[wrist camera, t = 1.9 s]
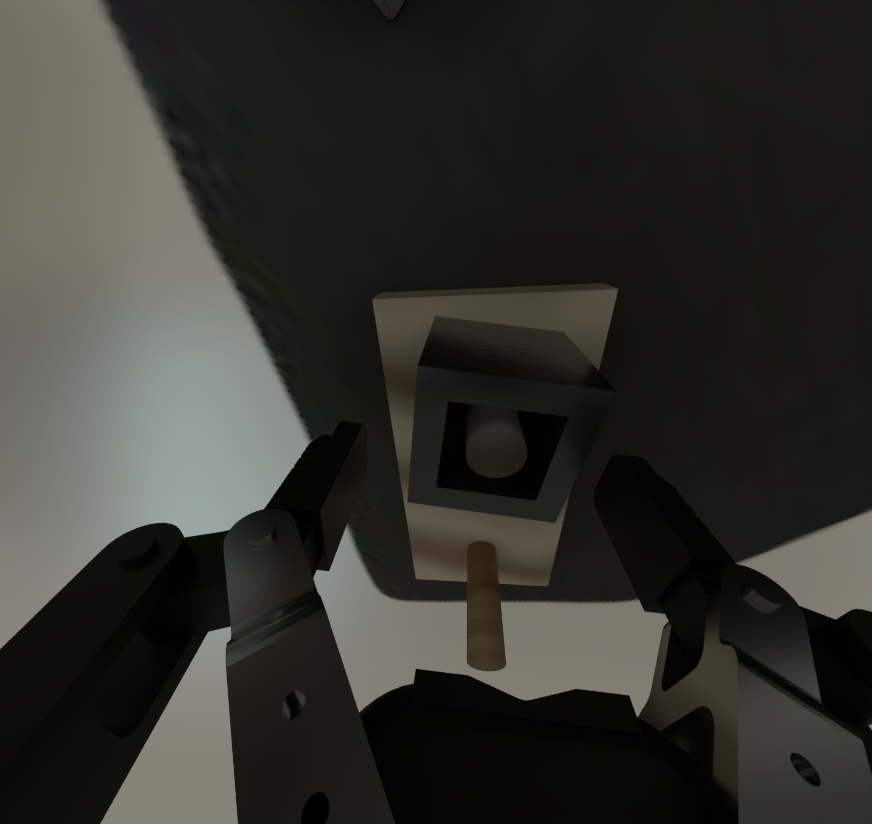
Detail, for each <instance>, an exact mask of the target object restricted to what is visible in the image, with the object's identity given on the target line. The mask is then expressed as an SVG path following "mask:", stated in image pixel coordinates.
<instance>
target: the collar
mask: <svg viewBox="0 0 872 824" xmlns="http://www.w3.org/2000/svg"><path fill="white" fill-rule="evenodd" d="M616 392H617V391H616V390H615V389H614V388H613V387H612V385H611V384H610V383H609V382H608V381H607V380H606V379H605V378H604V376H603V375H602V374H601V373H600V372H599V371H598V370H597V369H596V367H595V366H594V365H593V364H592V363H591V362H590V361H589V360H588V358H587V357H586V356H585V355H584V354H583V353H582V352H581V351H580V349H579V348H578V347H577V346H576V345H575V344H574V343H573V341H572V340H571V339H570V338H569V337H568V336H567V335H566V334H565V332H559V331H551V330H543V329H535V328H527V327H519V326H511V325H503V324H496V323H488V322H480V321H472V320H464V319H456V318H448V317H440V316H435V318H434V321H433V323H432V326H431V329H430V332H429V335H428V337H427V340H426V343H425V346H424V349H423V351H422V354H421V357H420V360H419V363H418V365H417V378H416V392H415V405H414V419H413V432H412V446H411V459H410V473H409V486H408V500H407V502H408V503H416V504H423V505H430V506H437V507H444V508H451V509H458V510H466V511H473V512H480V513H487V514H494V515H501V516H508V517H516V518H523V519H530V520H537V521H544V522H551V523H556V521H557V518H558V516H559V514H560V512H561V510H562V508H563V506H564V503H565V501H566V499H567V497H568V495H569V493H570V491H571V489H572V486H573V484H574V482H575V480H576V478H577V476H578V474H579V471H580V469H581V467H582V465H583V463H584V461H585V459H586V457H587V454H588V452H589V450H590V448H591V446H592V444H593V442H594V439H595V437H596V435H597V433H598V431H599V429H600V427H601V424H602V422H603V420H604V418H605V416H606V414H607V412H608V410H609V407H610V405H611V403H612V401H613V399H614V397H615V395H616ZM448 401H453V402H460V403H468V404H475V405H483V406H491V407H498V408H506V409H513V410H518V412H517V413H518V417H519V420H520V424H521V428H522V432H523V436H524V439H525V443H526V447H527V452H528V454H527V460H526V462H525V464H524V465H523V467H522V468H521V469H520V470H519V471H517V472H516V473H514V474H512V475H510V476H507V477H502V478H489V477H485V476H482V475H480V474H478V473H476V472H475V471H473V470H472V469H471V468H470V466H469V465H468V463H467V461H466V412H465V411H458V410H450V409H447V407H448Z"/></svg>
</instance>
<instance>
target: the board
mask: <svg viewBox="0 0 872 824" xmlns="http://www.w3.org/2000/svg"><path fill="white" fill-rule="evenodd" d="M617 292H618V289H617V288H615V287H612V286H610V285H608V284H605V283H589V284H566V285H543V286H520V287H497V288H474V289H451V290H428V291H405V292H382V293H380V294H378V295H377V296H376V297H374V298H373V299H372V300H373V307H374V313H375V320H376V326H377V332H378V339H379V345H380V352H381V358H382V364H383V371H384V377H385V383H386V390H387V396H388V403H389V409H390V415H391V422H392V428H393V435H394V441H395V447H396V454H397V460H398V467H399V473H400V479H401V486H402V492H403V499H404V505H405V511H406V518H407V524H408V530H409V537H410V543H411V550H412V556H413V562H414V569H415V575H416V579H427V580H445V581H463V582H467V663H468V664H469V666H471V667H472V668H475V669H477V670H482V671H496V670H500V669H503V668H504V667H505V665H506V659H505V648H504V636H503V624H502V613H501V601H500V590H499V584H517V585H535V586H548V583H549V579H550V575H551V571H552V566H553V562H554V558H555V554H556V550H557V545H558V541H559V537H560V533H561V528H562V524H563V520H564V516H565V512H566V507H567V503H568V499H569V495H570V493H569V495H568V497H567V499H566V501H565V503H564V506H563V508H562V510H561V512H560V514H559V516H558V518H557V521H556V523H551V522H544V521H537V520H530V519H523V518H516V517H508V516H501V515H494V514H487V513H480V512H473V511H466V510H458V509H451V508H444V507H437V506H430V505H423V504H416V503H408V502H407V500H408V486H409V473H410V459H411V446H412V432H413V419H414V405H415V392H416V378H417V365H418V363H419V360H420V357H421V354H422V351H423V349H424V346H425V343H426V340H427V337H428V335H429V332H430V329H431V326H432V323H433V321H434V318H435V316H440V317H448V318H456V319H464V320H472V321H480V322H488V323H496V324H503V325H511V326H519V327H527V328H535V329H543V330H551V331H559V332H565V334H566V335H567V336H568V337H569V338H570V339H571V340H572V341H573V343H574V344H575V345H576V346H577V347H578V348H579V349H580V351H581V352H582V353H583V354H584V355H585V356H586V357H587V358H588V360H589V361H590V362H591V363H592V364H593V365H594V366H595V367H596V369H597V370H598V371H599V368H600V364H601V360H602V355H603V351H604V347H605V343H606V339H607V334H608V330H609V326H610V322H611V317H612V313H613V309H614V305H615V301H616V296H617ZM447 409H450V410H458V411H465V412H466V461H467V463H468V465H469V466H470V468H471V469H472V470H473V471H475V472H476V473H478V474H480V475H482V476H485V477H489V478H502V477H507V476H510V475H512V474H514V473H516V472H517V471H519V470H520V469H521V468H522V467H523V465H524V464H525V462H526V460H527V454H528V452H527V447H526V443H525V439H524V436H523V432H522V428H521V424H520V420H519V417H518V413H517V412H518V410H513V409H506V408H498V407H491V406H483V405H475V404H468V403H460V402H453V401H448V407H447Z"/></svg>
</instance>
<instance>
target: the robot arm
mask: <svg viewBox="0 0 872 824" xmlns="http://www.w3.org/2000/svg"><path fill="white" fill-rule="evenodd" d="M366 468H367V437H366V425H365V424H362V423H353V422H345V421H341V422H340V423H339V425H338V427H337V428H336V430H335V431H334V433H333V435H332V436H330V435H321V436H320V437H318V438H317V439H316V440H314V441H313V442H311V443H310V444H309V445H308V446H307V448H306V449H305V451H304V452H303V454H302V455H301V458H299V460H298V461H297V462H296V464H295V465H294V468H292V470H291V471H290V473H289V474H288V475H287V477H286V478H285V480H284V481H283V483H282V484H281V486H280V487H279V489H278V490H277V491H276V493H275V494H274V496H273V497H272V499H271V500H270V502H269V503H268V504H267V506H266V507H265V508H264V509H263V510H259V511H256V512H254V513H251V514H249V515H247V516H245V517H244V518H242V519H241V520H239V521H238V522H237V523H236V524H235V525H234V526H233V527H232V528H231V529H230V530H228V531H223V532H217V533H212V534H204V535H198V536H191V537H185V538H184V536H183V534H182V532H181V531H180V529H179V528H177V526H175V525H172V524H168V523H155V524H149V525H145V526H142V527H139V528H136V529H134V530H131V531H129V532H127V533H125V534H123V535H122V536H120V537H118V538H117V539H115V540H114V541H112V542H111V543H110V544H108V545H107V546H106V547H105V548H104V549H103V550H102V551H101V552H100V553H98V554H97V555H96V557H94V558H93V559H92V560H91V561H90V562H89V563H88V564H87V565H86V566H85V567H84V568H83V569H82V570H81V571H80V572H79V573H78V574H77V575H76V576H75V577H74V578H73V579H72V580H71V581H70V582H69V583H68V584H67V585H66V586H65V587H64V588H63V589H62V590H61V591H60V592H58V593H57V594H56V595H55V596H54V597H53V598H52V599H51V600H50V601H49V602H48V603H47V604H46V605H45V606H44V607H43V608H42V609H41V610H40V611H39V612H38V613H37V614H36V615H35V616H34V617H33V618H32V619H31V620H30V621H29V622H28V623H27V624H26V625H25V626H24V627H23V628H22V629H21V630H20V631H18V632H17V633H16V635H14V636H13V637H12V638H11V639H10V640H9V641H8V642H7V643H6V644H5V645H4V646H3V647H2V648H1V649H0V824H100V823H101V821H102V820H103V818H104V816H105V814H106V812H107V811H108V809H109V807H110V805H111V804H112V802H113V800H114V798H115V796H116V795H117V793H118V791H119V789H120V788H121V786H122V784H123V782H124V780H125V779H126V777H127V775H128V773H129V772H130V770H131V768H132V766H133V764H134V763H135V761H136V759H137V757H138V756H139V754H140V752H141V750H142V748H143V746H144V745H145V743H146V741H147V740H148V738H149V736H150V734H151V732H152V731H153V729H154V727H155V725H156V723H157V722H158V720H159V718H160V716H161V715H162V713H163V711H164V709H165V708H166V706H167V704H168V702H169V700H170V699H171V696H172V695H173V693H174V692H175V690H176V688H177V686H178V684H179V683H180V681H181V679H182V677H183V675H184V674H185V672H186V670H187V668H188V667H189V665H190V663H191V661H192V660H193V658H194V656H195V654H196V652H197V651H198V649H199V647H200V645H201V644H202V642H203V640H204V638H205V636H206V635H207V633H208V632H209V631H213V630H217V629H221V628H226V627H230V626H231V640H230V641H229V642H228V643H227V646H226V673H227V686H228V698H229V712H230V725H231V738H232V752H233V764H234V778H235V791H236V804H237V816H238V824H872V730H871V728H870V727H869V726H868V725H871V724H872V612H870V611H866V610H862V609H853V610H851V611H849V612H847V613H846V614H845V615H843V616H841V617H840V618H838V619H836V620H835V619H833V618H830V617H827V616H825V615H822V614H819V613H817V612H814V611H811V610H809V609H806V608H804V607H801V606H799V605H798V604H797V602H796V601H795V600H794V599H793V598H792V597H791V596H790V595H789V594H788V593H787V592H786V591H785V590H784V589H783V588H782V587H781V586H779V585H778V584H777V583H776V582H774V581H773V580H771V579H770V578H768V577H767V576H765V575H763V574H762V573H760V572H758V571H756V570H754V569H751V568H749V567H746V566H742V565H737V564H736V563H735V562H734V560H733V559H732V558H731V557H730V556H729V554H728V553H727V552H726V551H725V549H724V548H723V547H722V546H721V544H720V543H719V542H718V541H717V540H716V538H715V537H714V536H713V535H712V533H711V532H710V531H709V530H708V528H707V527H706V526H705V525H704V523H703V522H702V521H701V520H700V519H699V518H697V517H696V514H695V512H694V511H693V510H692V509H691V507H690V506H689V505H686V501H685V500H684V499H683V498H682V496H681V495H680V494H679V493H678V491H677V490H676V489H675V488H674V487H673V486H671V485H670V484H669V483H668V482H666V481H665V480H664V479H662V478H661V477H660V476H659V475H657V474H656V473H655V472H654V470H653V469H652V468H651V467H650V465H649V464H648V463H647V461H646V460H645V459H643V458H641V457H635V456H626V455H618V454H616V455H614V456H612V457H611V459H610V460H609V462H608V464H607V466H606V468H605V470H604V472H603V474H602V476H601V478H600V480H599V482H598V484H597V486H596V488H595V491H594V505H595V508H596V510H597V512H598V514H599V516H600V518H601V520H602V523H603V525H604V527H605V529H606V531H607V533H608V535H609V537H610V539H611V541H612V544H613V546H614V548H615V550H616V552H617V554H618V556H619V558H620V560H621V563H622V565H623V567H624V569H625V571H626V573H627V575H628V577H629V579H630V581H631V584H632V586H633V588H634V590H635V592H636V594H637V596H638V598H639V600H640V602H641V605H642V607H643V609H644V611H647V612H654V613H662V614H665V615H666V617H667V618H668V620H669V622H668V623H667V624H666V625H665V626H664V628H663V631H662V636H661V642H660V647H659V652H658V657H657V662H656V667H655V673H654V678H653V683H652V688H651V693H650V696H649V699H648V701H647V703H646V705H645V706H644V708H643V709H642V711H641V713H640V715H639V717H637V716H636V714H635V711H634V708H633V705H632V702H631V699H630V697H629V695H621V694H613V693H604V692H597V691H589V690H581V689H574V690H571V691H566V692H562V693H558V694H554V695H550V696H545V697H541V698H537V699H533V700H528V701H525V700H521V699H518V698H516V697H514V696H511V695H509V694H507V693H505V692H503V691H501V690H499V689H496V688H494V687H492V686H490V685H488V684H485V683H483V682H481V681H479V680H477V679H475V678H473V677H470V676H468V675H461V674H452V673H445V672H437V671H428V670H421V669H416V671H415V678H414V684H410V685H405V686H401V687H399V688H397V689H394V690H391V691H389V692H387V693H385V694H384V695H382V696H380V697H378V698H377V699H375V700H374V701H373V702H371V703H370V704H369V705H368V706H366V707H365V708H364V709H363V710H362V711H360V713H359V711H358V708H357V705H356V702H355V699H354V696H353V693H352V690H351V687H350V684H349V681H348V678H347V675H346V672H345V668H344V665H343V662H342V659H341V656H340V653H339V650H338V647H337V644H336V641H335V638H334V635H333V632H332V629H331V626H330V622H329V619H328V616H327V613H326V610H325V607H324V605H323V601H322V599H321V597H320V595H319V594H318V592H317V589H316V586H315V583H314V580H313V577H314V575H315V572H316V570H323V571H329V570H330V567H331V565H332V562H333V560H334V557H335V554H336V552H337V549H338V546H339V544H340V541H341V538H342V536H343V533H344V531H345V528H346V525H347V523H348V520H349V517H350V515H351V512H352V509H353V507H354V504H355V502H356V499H357V496H358V494H359V491H360V488H361V486H362V483H363V480H364V477H365V474H366Z"/></svg>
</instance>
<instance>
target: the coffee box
mask: <svg viewBox="0 0 872 824" xmlns="http://www.w3.org/2000/svg"><path fill="white" fill-rule="evenodd" d="M373 1H374V2H375V4H376V5H377V6H378V7H379V9H380V10H381V11H382V12H383V13H384V15H385V16H386V17H387V18H388V19H389V20H393V19H394V18H395V17H396V15H397V14H398V12H399V11H400V9H401V7H402V5H403V3H404V1H405V0H373Z"/></svg>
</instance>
